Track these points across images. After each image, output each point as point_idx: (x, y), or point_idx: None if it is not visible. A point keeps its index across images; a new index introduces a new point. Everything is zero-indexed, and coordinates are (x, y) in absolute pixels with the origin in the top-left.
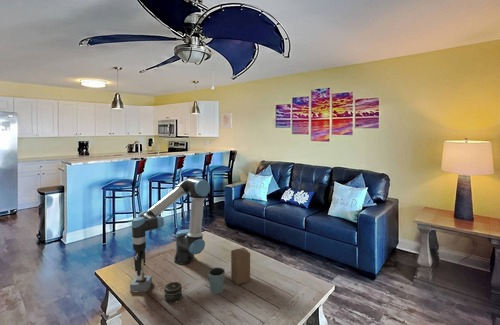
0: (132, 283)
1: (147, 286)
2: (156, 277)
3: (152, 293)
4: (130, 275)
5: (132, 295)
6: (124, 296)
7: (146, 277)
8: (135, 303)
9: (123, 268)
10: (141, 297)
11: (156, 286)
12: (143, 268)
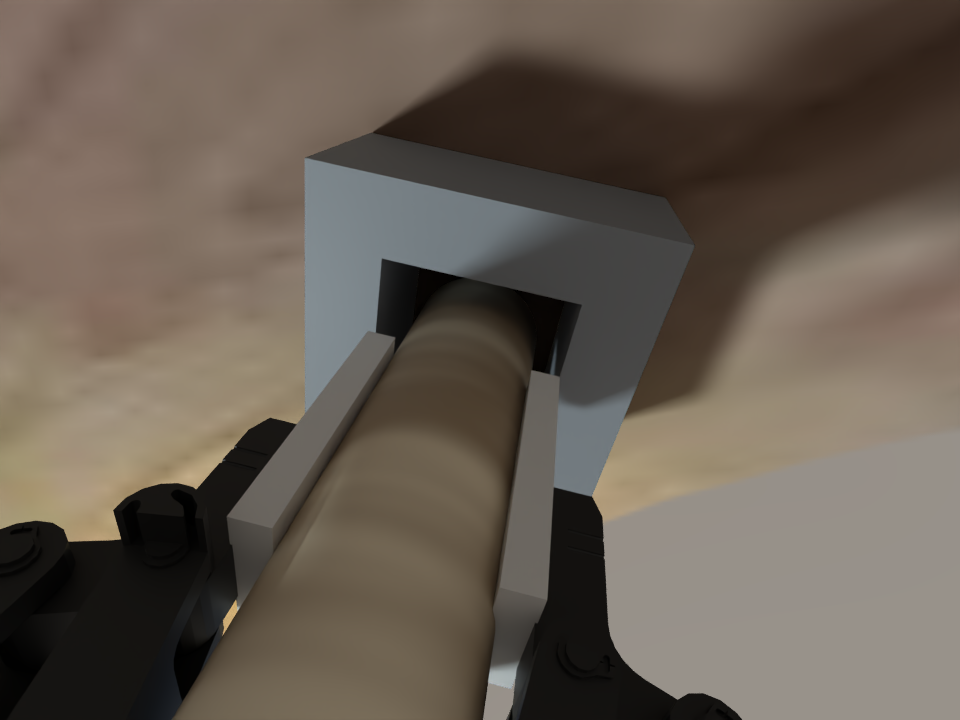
0: None
1: (626, 207)
2: (190, 59)
3: (773, 72)
4: (171, 451)
5: (676, 401)
6: (657, 484)
7: (381, 271)
8: (946, 347)
9: (41, 518)
10: (809, 272)
11: (524, 11)
12: (408, 529)
